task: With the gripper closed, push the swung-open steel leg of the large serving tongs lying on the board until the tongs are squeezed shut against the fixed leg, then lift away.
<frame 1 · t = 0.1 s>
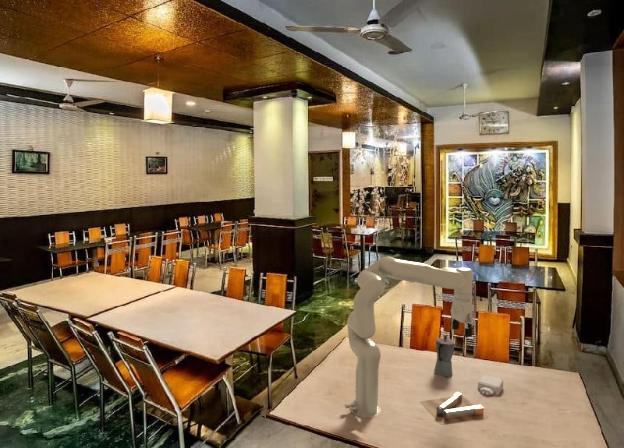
hand: (461, 332, 186), 31 cm above the table, tool pointing down, fingers open, 9 cm apart
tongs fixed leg: (439, 415, 173), resting on board
tong leg: (449, 404, 179), point 3 cm above the table, hinge at 30.0°
moka pot: (443, 374, 212), on the table
charger: (488, 392, 195), on the table
board: (452, 411, 178), on the table
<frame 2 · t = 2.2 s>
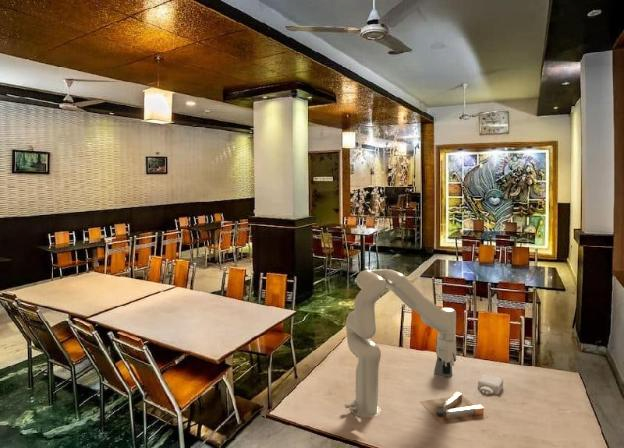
hand: (446, 373, 190), 11 cm above the table, tool pointing down, fingers closed
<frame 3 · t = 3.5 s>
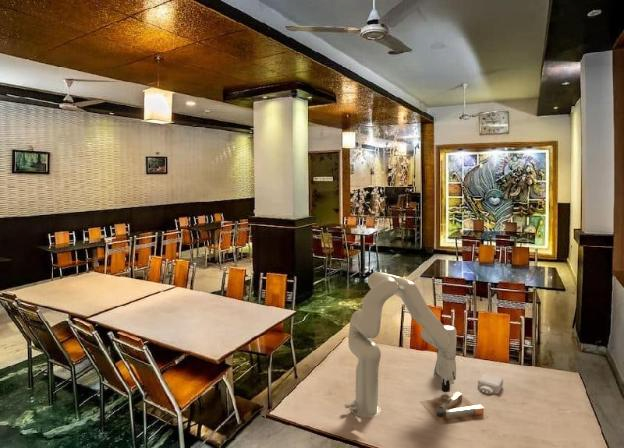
hand: (445, 391, 190), 2 cm above the table, tool pointing down, fingers closed
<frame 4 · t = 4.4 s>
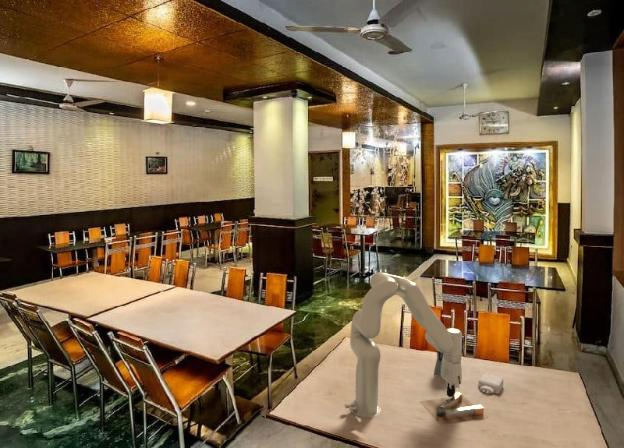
hand: (450, 395, 186), 3 cm above the table, tool pointing down, fingers closed
tong leg: (449, 404, 179), point 3 cm above the table, hinge at 29.9°, touching gripper
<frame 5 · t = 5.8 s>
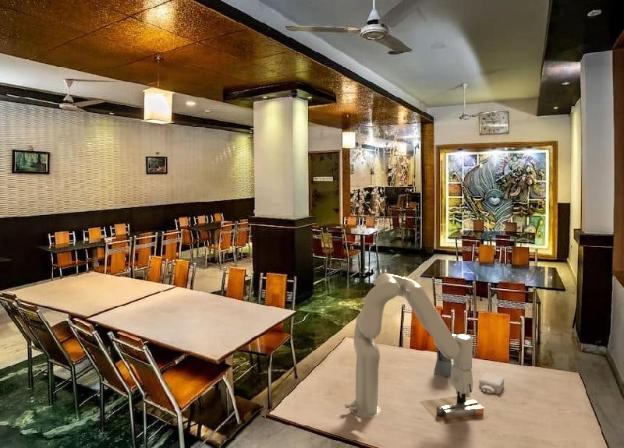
hand: (461, 404, 179), 3 cm above the table, tool pointing down, fingers closed
tong leg: (456, 408, 175), point 3 cm above the table, hinge at 3.2°, touching gripper
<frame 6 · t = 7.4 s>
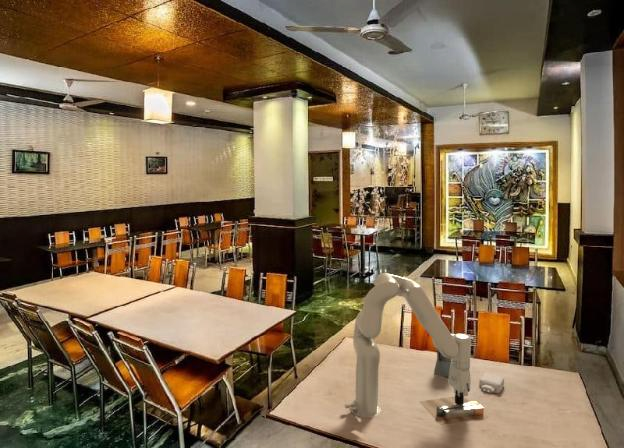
hand: (459, 403, 180), 2 cm above the table, tool pointing down, fingers closed
tong leg: (457, 408, 175), point 3 cm above the table, hinge at -0.5°
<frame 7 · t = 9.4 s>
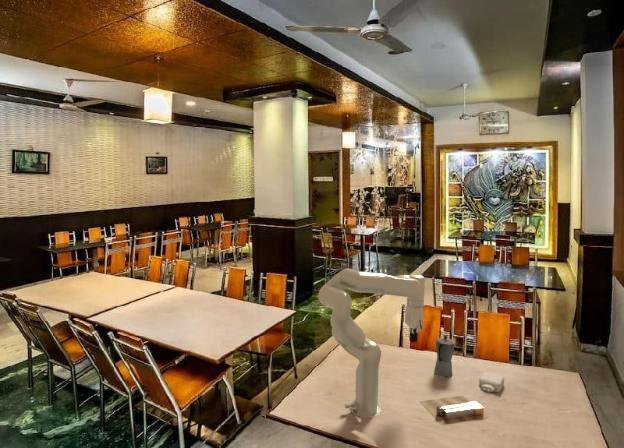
hand: (413, 341, 189), 26 cm above the table, tool pointing down, fingers closed
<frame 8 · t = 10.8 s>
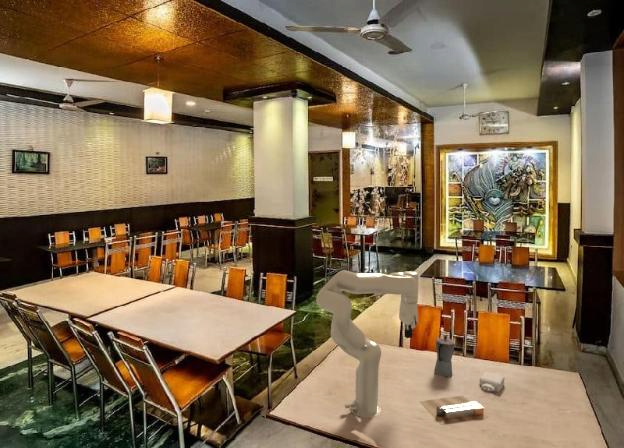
hand: (408, 337, 191), 27 cm above the table, tool pointing down, fingers closed
at the end: tong leg at +0° (first picture: +30°); moka pot moved 0.2 cm from its start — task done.
